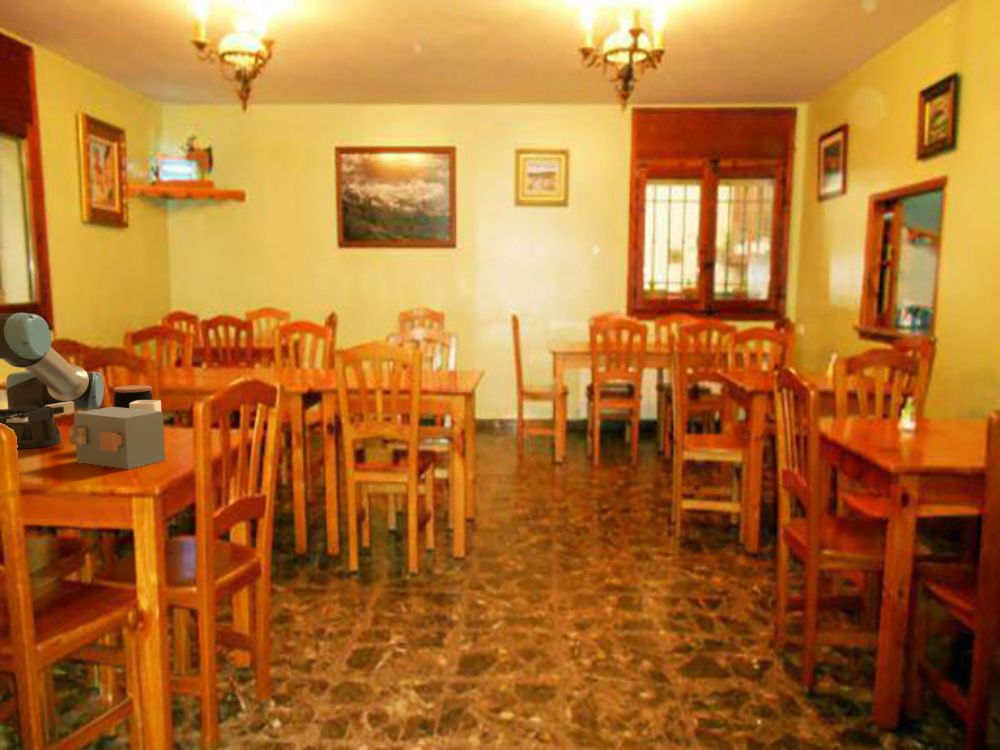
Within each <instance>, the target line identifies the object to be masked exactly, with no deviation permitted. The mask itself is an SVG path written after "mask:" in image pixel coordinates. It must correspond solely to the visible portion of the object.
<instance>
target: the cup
mask: <svg viewBox="0 0 1000 750" xmlns="http://www.w3.org/2000/svg"><path fill="white" fill-rule="evenodd" d="M129 408H131V409H141V410H152V411H162V401H161V400H160V399H152V400H138V401H134V402H131V403H129Z"/></svg>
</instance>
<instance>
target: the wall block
mask: <svg viewBox="0 0 1000 750" xmlns="http://www.w3.org/2000/svg"><path fill="white" fill-rule="evenodd" d="M163 412H164V411H162V410H161V411H152V410H141V409H131V408H120V407H114V406H109V407H103V408H97V409H90V410H84V411H83V410H82V411H77V412H76V411H75V413H73V419H74V421H73V422H74V427H81V428H86V430H87V441H86V442H87V445H82V446H81V445H75V453H76V463H77V462H81V463H80V464H83V463H89V464H88V465H90V464H95V465H94V466H97V465H101V466H100V467H104V466H108V467H107V468H111V467H116V468H115V469H118V468H123V469H122V470H125V469H130V470H132V468H134V469H137V468H136V467H138V468H141V467H140V466H142V467H145V466H144V465H146V466H149V465H148V464H150V465H153V464H152V463H154V464H157V463H156V462H158V463H161V461H162V462H164V461H166V455H165V454H166V453H165V434H164V432H165V430H164V413H163ZM101 432H111V433H120V434H123V445H121V446H118V450H117V451H106V450H101V447H100V433H101Z"/></svg>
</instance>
